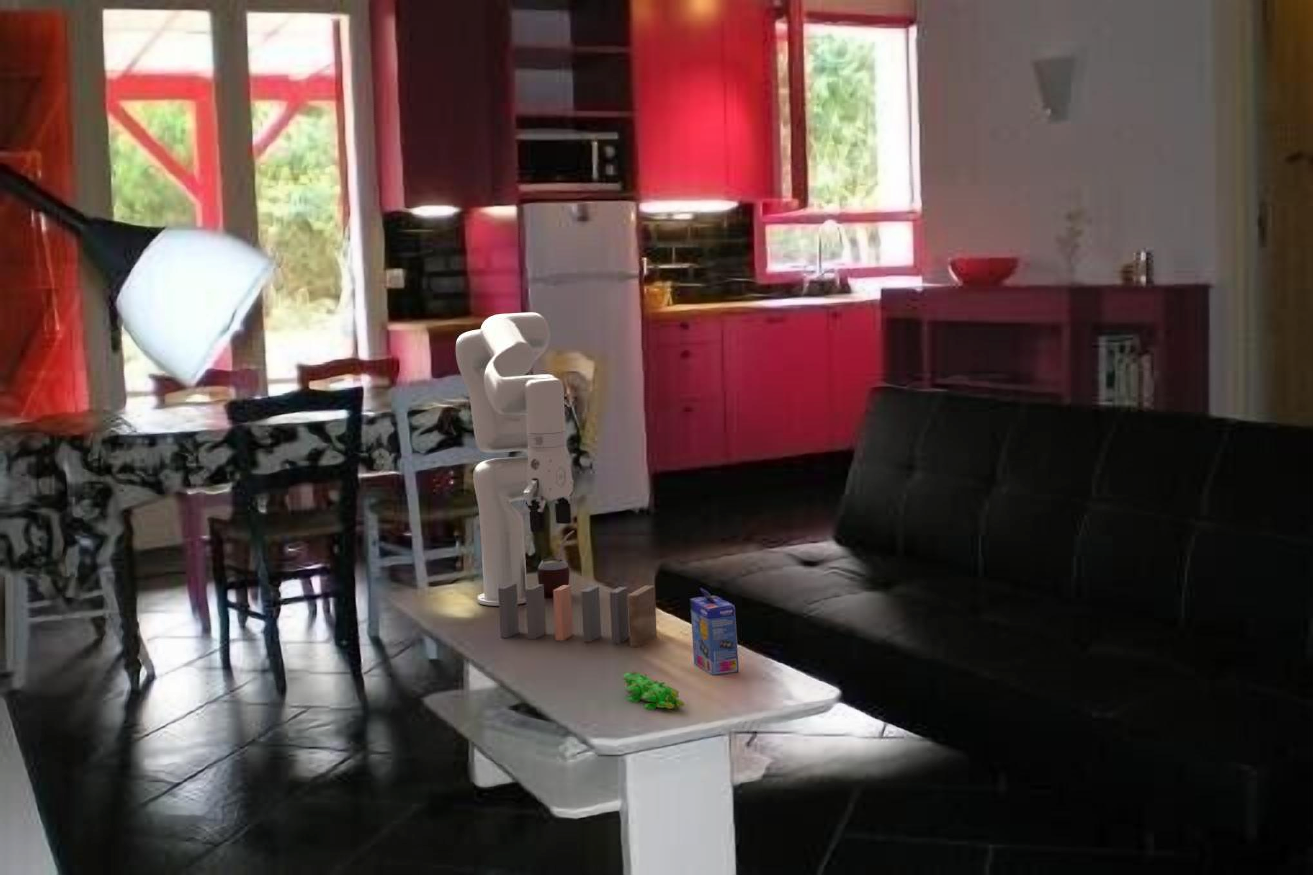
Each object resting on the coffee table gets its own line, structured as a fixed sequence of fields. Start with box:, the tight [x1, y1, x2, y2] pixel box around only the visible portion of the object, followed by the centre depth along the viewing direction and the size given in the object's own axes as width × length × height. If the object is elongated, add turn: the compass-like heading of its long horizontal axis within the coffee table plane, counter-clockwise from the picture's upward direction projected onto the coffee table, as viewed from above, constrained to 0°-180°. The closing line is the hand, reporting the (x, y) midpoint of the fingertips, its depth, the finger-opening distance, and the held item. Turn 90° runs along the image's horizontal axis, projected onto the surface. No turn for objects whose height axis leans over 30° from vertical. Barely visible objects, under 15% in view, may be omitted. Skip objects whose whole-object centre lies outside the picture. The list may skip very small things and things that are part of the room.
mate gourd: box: [536, 529, 575, 598], centre depth 351 cm, size 8×8×15 cm
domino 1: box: [498, 583, 520, 639], centre depth 316 cm, size 2×5×10 cm, turn 159°
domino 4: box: [580, 585, 602, 643], centre depth 309 cm, size 2×5×10 cm, turn 159°
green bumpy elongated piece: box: [621, 670, 684, 710], centre depth 263 cm, size 7×18×4 cm, turn 29°
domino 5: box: [609, 586, 630, 644], centre depth 307 cm, size 2×5×10 cm, turn 159°
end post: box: [627, 585, 658, 648], centre depth 305 cm, size 2×9×10 cm, turn 159°
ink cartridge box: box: [689, 588, 740, 676], centre depth 283 cm, size 10×6×14 cm, turn 19°
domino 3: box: [553, 584, 574, 642], centre depth 312 cm, size 2×5×10 cm, turn 160°
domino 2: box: [525, 583, 547, 640], centre depth 314 cm, size 2×5×10 cm, turn 159°
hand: (551, 527), depth 310 cm, fingers open, 9 cm apart
